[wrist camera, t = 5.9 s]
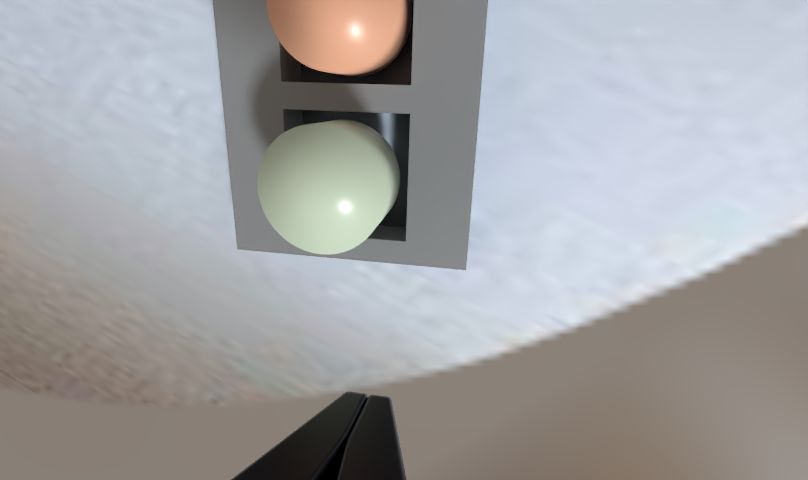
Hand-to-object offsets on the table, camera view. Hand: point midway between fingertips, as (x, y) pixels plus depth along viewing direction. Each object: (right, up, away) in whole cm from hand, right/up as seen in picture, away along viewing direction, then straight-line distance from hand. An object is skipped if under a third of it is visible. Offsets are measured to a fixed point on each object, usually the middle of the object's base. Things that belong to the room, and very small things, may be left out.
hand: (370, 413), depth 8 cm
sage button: (-2, +6, +9) cm, 11 cm away
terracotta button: (-1, +12, +9) cm, 15 cm away
